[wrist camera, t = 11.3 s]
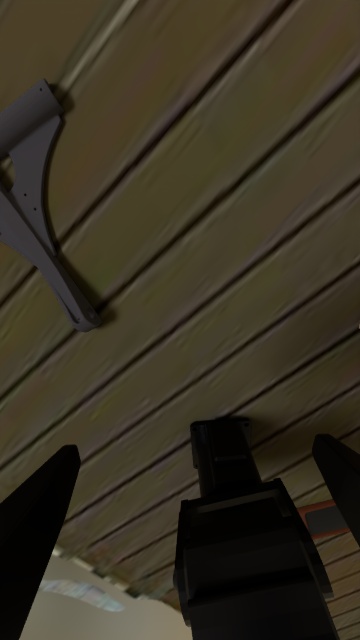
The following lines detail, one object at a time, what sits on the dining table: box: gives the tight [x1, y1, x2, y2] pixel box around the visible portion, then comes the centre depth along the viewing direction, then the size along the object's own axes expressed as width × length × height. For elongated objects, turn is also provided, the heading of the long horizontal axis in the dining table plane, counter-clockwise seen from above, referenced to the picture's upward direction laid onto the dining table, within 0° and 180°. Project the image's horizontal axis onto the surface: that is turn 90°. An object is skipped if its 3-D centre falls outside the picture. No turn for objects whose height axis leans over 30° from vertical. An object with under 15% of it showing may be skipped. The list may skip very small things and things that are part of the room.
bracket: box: [0, 78, 101, 332], centre depth 16 cm, size 14×15×3 cm
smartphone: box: [296, 499, 350, 540], centre depth 29 cm, size 7×1×15 cm
